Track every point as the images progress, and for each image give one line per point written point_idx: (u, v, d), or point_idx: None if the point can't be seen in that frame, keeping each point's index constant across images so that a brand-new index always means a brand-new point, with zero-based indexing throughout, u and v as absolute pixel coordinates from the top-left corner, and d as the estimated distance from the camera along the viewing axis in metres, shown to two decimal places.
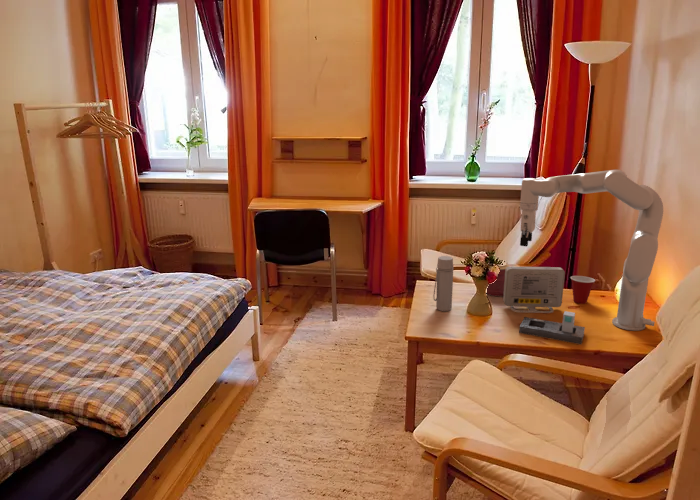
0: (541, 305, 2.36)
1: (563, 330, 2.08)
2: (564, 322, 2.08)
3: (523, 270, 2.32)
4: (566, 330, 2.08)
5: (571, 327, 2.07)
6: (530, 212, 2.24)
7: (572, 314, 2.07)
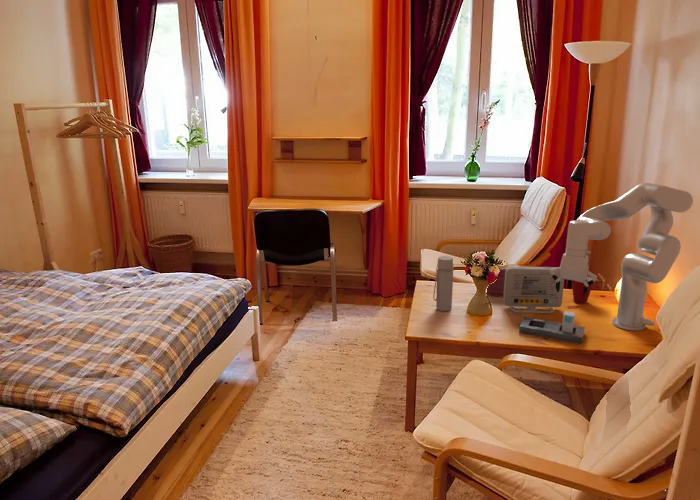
0: (541, 305, 2.36)
1: (563, 330, 2.08)
2: (564, 322, 2.08)
3: (523, 270, 2.32)
4: (566, 330, 2.08)
5: (571, 327, 2.07)
6: None
7: (572, 314, 2.07)
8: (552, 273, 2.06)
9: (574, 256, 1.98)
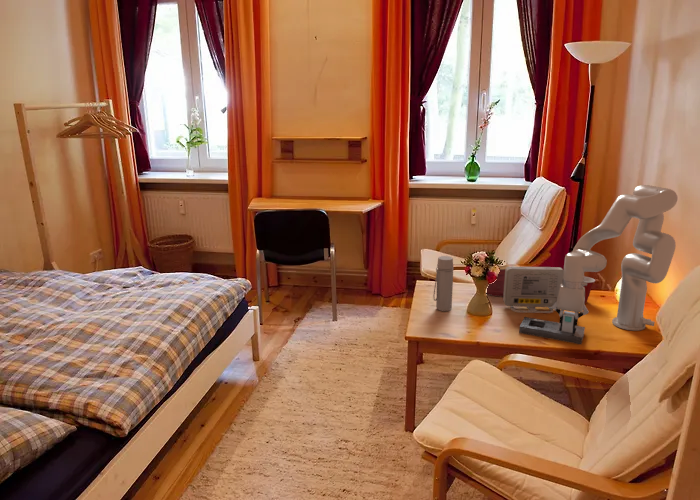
0: (541, 305, 2.36)
1: (563, 330, 2.08)
2: (564, 322, 2.07)
3: (523, 270, 2.32)
4: (566, 330, 2.08)
5: (571, 327, 2.07)
6: None
7: (572, 314, 2.07)
8: (554, 308, 2.09)
9: (571, 288, 2.01)
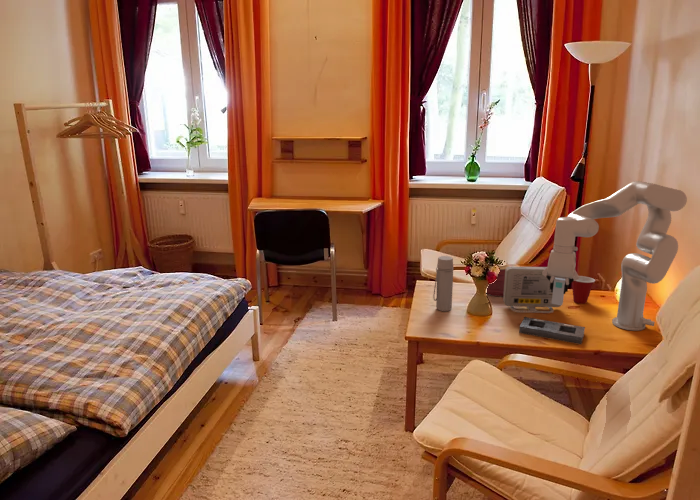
0: (541, 305, 2.36)
1: (554, 296, 2.07)
2: (555, 288, 2.06)
3: (523, 270, 2.32)
4: (557, 296, 2.06)
5: (562, 293, 2.05)
6: None
7: (563, 280, 2.05)
8: (545, 274, 2.08)
9: (562, 253, 1.99)
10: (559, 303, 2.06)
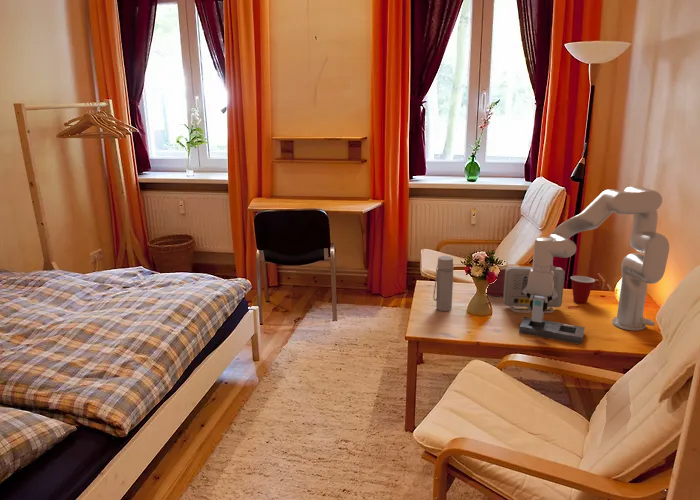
0: None
1: (533, 314, 2.13)
2: (534, 306, 2.12)
3: (523, 270, 2.32)
4: (536, 314, 2.12)
5: (541, 311, 2.11)
6: None
7: (542, 298, 2.11)
8: (525, 292, 2.14)
9: (540, 272, 2.06)
10: (539, 320, 2.12)
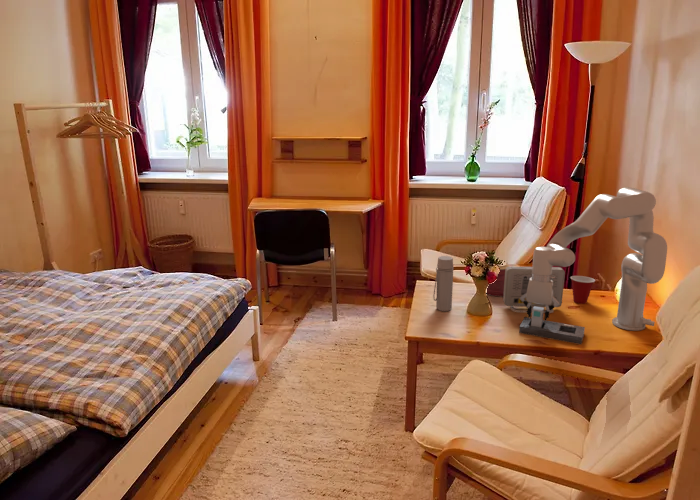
0: (541, 305, 2.36)
1: (532, 324, 2.14)
2: (533, 317, 2.13)
3: (523, 270, 2.32)
4: (535, 324, 2.14)
5: (540, 321, 2.12)
6: None
7: (541, 309, 2.12)
8: (522, 300, 2.15)
9: (539, 281, 2.07)
10: None
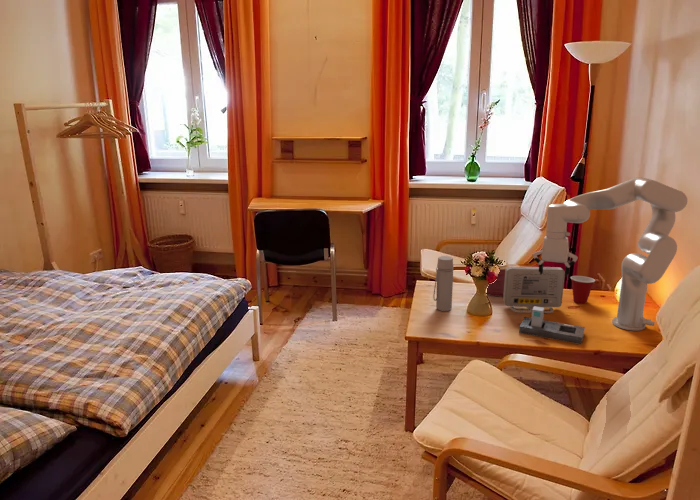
0: (541, 305, 2.36)
1: (532, 324, 2.14)
2: (533, 317, 2.13)
3: (523, 270, 2.32)
4: (535, 324, 2.13)
5: (540, 322, 2.12)
6: None
7: (541, 309, 2.12)
8: (535, 256, 2.13)
9: (554, 238, 2.05)
10: None
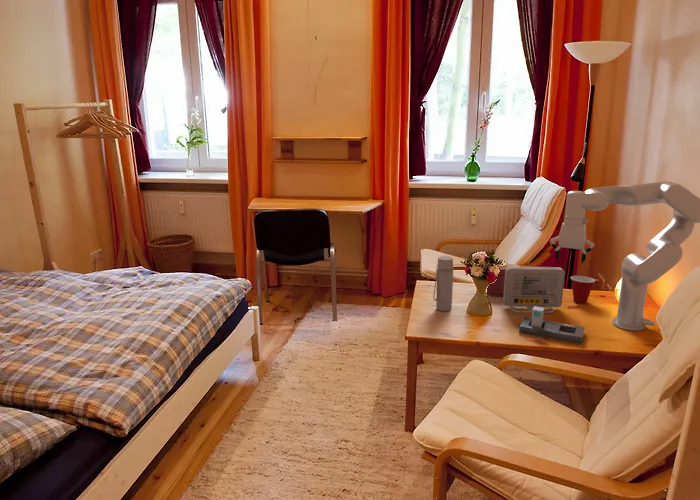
0: (541, 305, 2.36)
1: (532, 324, 2.14)
2: (533, 317, 2.13)
3: (523, 270, 2.32)
4: (535, 324, 2.14)
5: (540, 322, 2.12)
6: None
7: (541, 309, 2.12)
8: (552, 242, 2.16)
9: (572, 225, 2.08)
10: None
